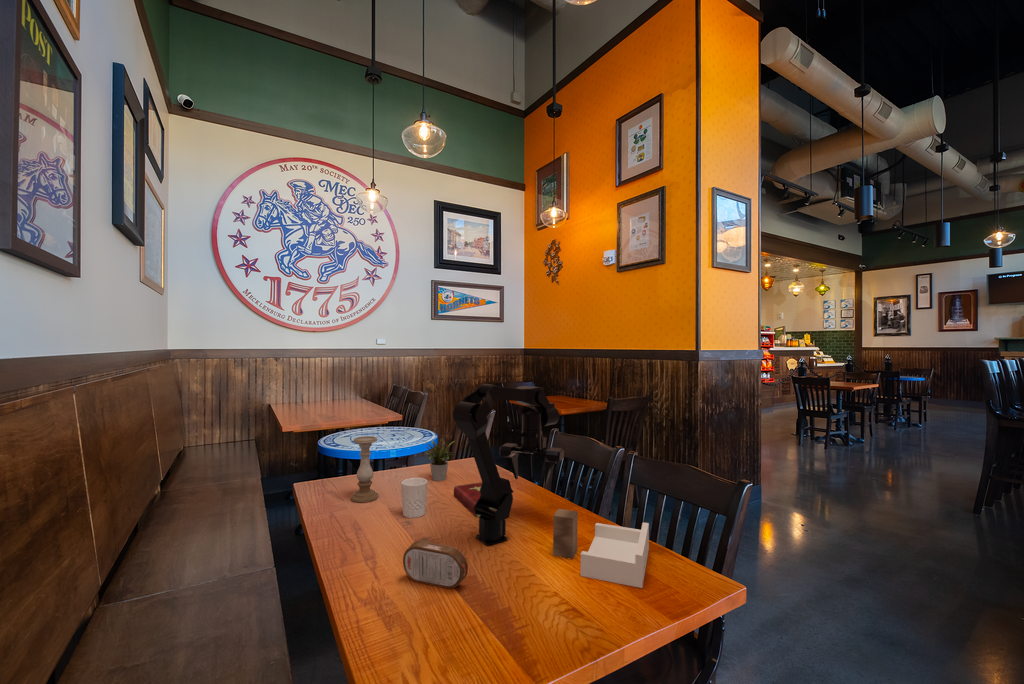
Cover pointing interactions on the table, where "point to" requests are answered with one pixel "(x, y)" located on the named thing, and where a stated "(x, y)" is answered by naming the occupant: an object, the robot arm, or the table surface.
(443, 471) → the house plant
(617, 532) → the toy armchair
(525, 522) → the table surface
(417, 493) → the white cup
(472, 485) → the hardcover book
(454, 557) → the tin
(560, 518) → the walnut block
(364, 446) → the candle holder
